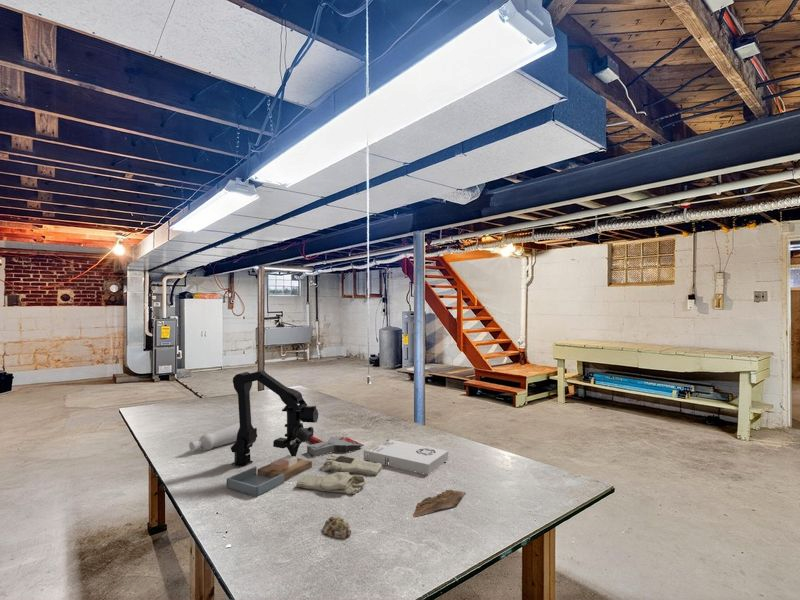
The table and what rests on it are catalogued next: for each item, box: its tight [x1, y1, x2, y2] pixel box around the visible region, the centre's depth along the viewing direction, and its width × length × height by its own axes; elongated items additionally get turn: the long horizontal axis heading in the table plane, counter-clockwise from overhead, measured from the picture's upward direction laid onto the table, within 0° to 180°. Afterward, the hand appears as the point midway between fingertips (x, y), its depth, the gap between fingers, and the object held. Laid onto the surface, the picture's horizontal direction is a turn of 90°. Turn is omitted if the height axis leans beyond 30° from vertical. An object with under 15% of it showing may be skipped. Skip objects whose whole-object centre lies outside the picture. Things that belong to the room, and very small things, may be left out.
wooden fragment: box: [412, 489, 466, 518], centre depth 141 cm, size 26×11×1 cm, turn 129°
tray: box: [226, 466, 285, 498], centre depth 156 cm, size 16×14×4 cm
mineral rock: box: [322, 516, 352, 539], centre depth 123 cm, size 11×4×8 cm
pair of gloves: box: [296, 453, 383, 495], centre depth 163 cm, size 30×26×5 cm
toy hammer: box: [306, 435, 364, 458], centre depth 202 cm, size 24×4×30 cm
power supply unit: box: [363, 438, 449, 475], centre depth 181 cm, size 19×33×5 cm, turn 58°
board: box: [257, 457, 313, 482], centre depth 170 cm, size 14×17×2 cm
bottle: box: [188, 422, 240, 453], centre depth 203 cm, size 9×9×30 cm
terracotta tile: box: [270, 458, 289, 471], centre depth 167 cm, size 5×5×2 cm
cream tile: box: [279, 454, 298, 467], centre depth 171 cm, size 5×5×2 cm
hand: (293, 458), depth 174 cm, fingers closed
